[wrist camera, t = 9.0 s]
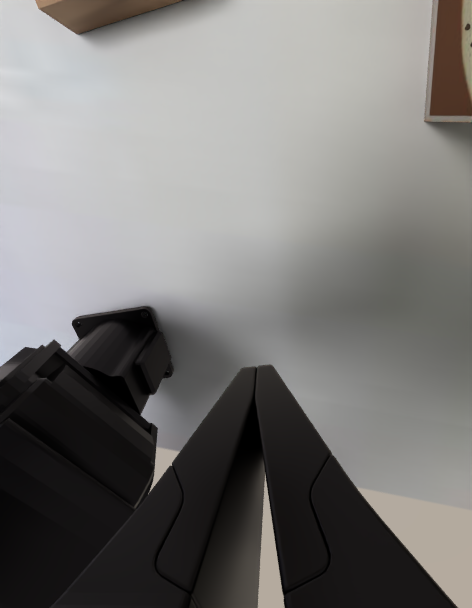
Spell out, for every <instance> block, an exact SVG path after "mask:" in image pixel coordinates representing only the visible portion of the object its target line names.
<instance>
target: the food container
mask: <svg viewBox="0 0 472 608" xmlns="http://www.w3.org/2000/svg"><path fill="white" fill-rule="evenodd" d="M424 121H432V122H472V0H433V5H432V19H431V33H430V47H429V61H428V75H427V89H426V103H425V117H424Z"/></svg>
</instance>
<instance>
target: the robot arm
mask: <svg viewBox="0 0 472 608" xmlns="http://www.w3.org/2000/svg"><path fill="white" fill-rule="evenodd" d="M143 312H146V313H147V314H148V315H144V313H143ZM78 322H79V323H81V325H80V324H79V323H78ZM72 326H73V328H74V330H75V332H76V334H77V336H78V338H79V340H78V341H77V342H76V343H75V344H74V345H73V346H72V347H71V348H70V349H69V350H68V351H67V352H65V351H64V350H63V349H62V348H61V347H60V346H61V345H60V344H59V343H58V342H57V341H55V340H53V341H52V342H50V343H49V344H48V345H47V346H46V347H45V346H43V345H41V346H40V347H39V348H38V349H36V348H29V347H25V348H23V349H22V350H21V351H20V352H18V353H17V354H16V355H15V356H13V357H12V358H11V359H10V360H8V361H7V362H6V363H5V364H3V365H2V366H1V367H0V608H257V607H258V588H259V571H260V553H261V535H262V517H263V499H264V498H263V497H264V481H265V474H266V481H267V488H268V495H269V501H270V509H271V515H272V523H273V529H274V536H275V543H276V550H277V556H278V564H279V570H280V577H281V585H282V591H283V595H284V605H285V608H458V607H457V606H456V605H455V604H454V603H453V601H452V600H451V599H450V598H449V597H448V596H447V595H446V594H445V592H444V591H443V590H442V589H441V588H440V587H439V585H438V584H437V583H436V582H435V581H434V580H433V579H432V577H431V576H430V575H429V574H428V573H427V572H426V570H425V569H424V568H423V567H422V566H421V565H420V563H419V562H418V561H417V560H416V559H415V558H414V556H413V555H412V554H411V553H410V552H409V551H408V549H407V548H406V547H405V546H404V545H403V544H402V542H401V541H400V540H399V539H398V538H397V537H396V536H395V534H394V533H393V532H392V531H391V530H390V528H389V527H388V526H387V525H386V524H385V523H384V521H383V520H382V519H381V518H380V517H379V515H378V514H377V513H376V512H375V511H374V509H373V508H372V507H371V506H370V504H369V503H368V502H367V501H366V499H365V498H364V497H363V496H362V495H361V493H360V492H359V491H358V489H357V488H356V486H355V485H354V484H353V482H352V481H351V480H350V478H349V477H348V475H347V474H346V473H345V471H344V470H343V468H342V467H341V466H340V464H339V463H338V461H337V460H336V458H335V457H334V456H333V455H332V453H331V451H330V450H329V448H328V447H327V445H326V444H325V442H324V441H323V439H322V438H321V436H320V435H319V433H318V432H317V430H316V429H315V427H314V426H313V424H312V423H311V421H310V420H309V419H308V417H307V416H306V414H305V413H304V411H303V410H302V408H301V407H300V405H299V404H298V402H297V401H296V399H295V398H294V396H293V395H292V393H291V392H290V390H289V389H288V388H287V386H286V385H285V383H284V382H283V380H282V379H281V377H280V376H279V374H278V373H277V371H276V370H275V368H274V367H273V366H272V365H262V366H258V367H257V368H256V367H255V366H253V367H244V368H242V369H241V370H240V371H239V372H238V374H237V375H236V376H235V378H234V379H233V381H232V382H231V383H230V385H229V386H228V387H227V389H226V390H225V391H224V393H223V394H222V396H221V397H220V398H219V400H218V401H217V402H216V404H215V405H214V406H213V408H212V409H211V411H210V412H209V413H208V415H207V416H206V417H205V419H204V420H203V421H202V423H201V424H200V426H199V427H198V428H197V430H196V431H195V432H194V434H193V435H192V436H191V438H190V439H189V441H188V442H187V443H186V445H185V446H184V447H183V449H182V450H181V451H180V453H179V454H178V456H177V457H176V458H175V460H174V461H173V462H172V466H169V468H168V469H167V470H166V472H165V473H164V474H163V476H162V477H161V478H160V480H159V481H158V482H157V484H156V485H155V486H154V488H153V489H152V490H151V492H150V493H149V491H150V488H151V485H152V482H153V477H154V469H155V454H156V443H157V430H158V428H157V427H156V426H155V425H154V424H152V423H149V422H147V421H146V420H145V419H144V418H143V417H142V416H140V415H141V413H142V411H143V409H144V407H145V404H146V402H147V400H148V398H149V396H150V395H154V394H155V393H156V391H157V389H158V387H159V385H160V382H161V380H162V378H169V377H171V376H172V374H173V371H174V370H173V367H172V364H171V361H170V360H171V355H170V353H169V350H168V347H167V344H166V341H165V339H164V336H163V333H162V332H161V331H160V330H159V328H158V325H157V323H156V320H155V317H154V314H153V312H152V310H151V309H150V308H149V307H138V308H131V309H125V310H119V311H112V312H106V313H99V314H93V315H87V316H80V317H76V318H75V319H74V320H73V321H72ZM166 371H169V372H166ZM148 493H149V494H148Z"/></svg>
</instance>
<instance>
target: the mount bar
mask: <svg viewBox="0 0 472 608" xmlns="http://www.w3.org/2000/svg"><path fill="white" fill-rule="evenodd" d="M180 1H183V0H36V3H37V6H38V8H39V9H40V10H41V11H43V12H44V13H46V14H47V15H49V16H50V17H52V18H53V19H55V20H56V21H58V22H59V23H61V24H62V25H64V26H65V27H67V28H68V29H70V30H71V31H73V32H74V33H76V34H80V33H83V32H86V31H89V30H92V29H95V28H98V27H102V26H105V25H108V24H111V23H114V22H117V21H120V20H123V19H126V18H130V17H133V16H136V15H139V14H142V13H145V12H148V11H151V10H155V9H158V8H161V7H164V6H167V5H170V4H173V3H176V2H180Z"/></svg>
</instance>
